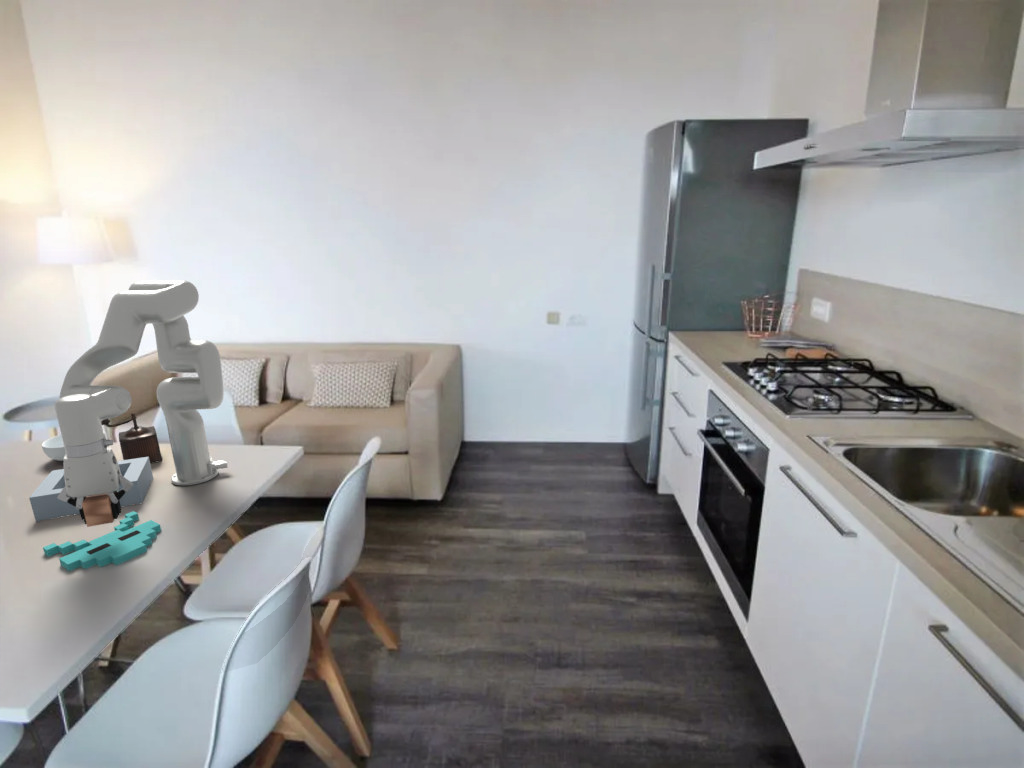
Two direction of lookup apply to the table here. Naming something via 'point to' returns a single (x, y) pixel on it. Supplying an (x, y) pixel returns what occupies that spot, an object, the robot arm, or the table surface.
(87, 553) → the alien figure
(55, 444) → the cereal bowl
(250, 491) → the table surface
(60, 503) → the slot box
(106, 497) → the terracotta cube
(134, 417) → the brown manual coffee grinder
